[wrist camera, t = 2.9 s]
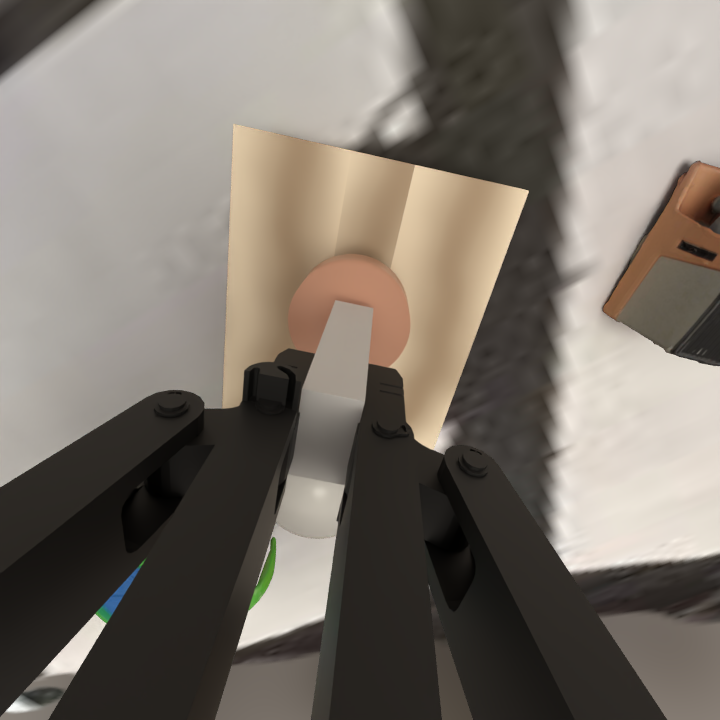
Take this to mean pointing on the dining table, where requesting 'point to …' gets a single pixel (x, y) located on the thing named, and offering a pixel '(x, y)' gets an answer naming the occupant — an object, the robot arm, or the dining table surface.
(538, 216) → the dining table surface
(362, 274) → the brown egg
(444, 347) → the switch box
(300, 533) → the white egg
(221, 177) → the dining table surface
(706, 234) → the electronic device
